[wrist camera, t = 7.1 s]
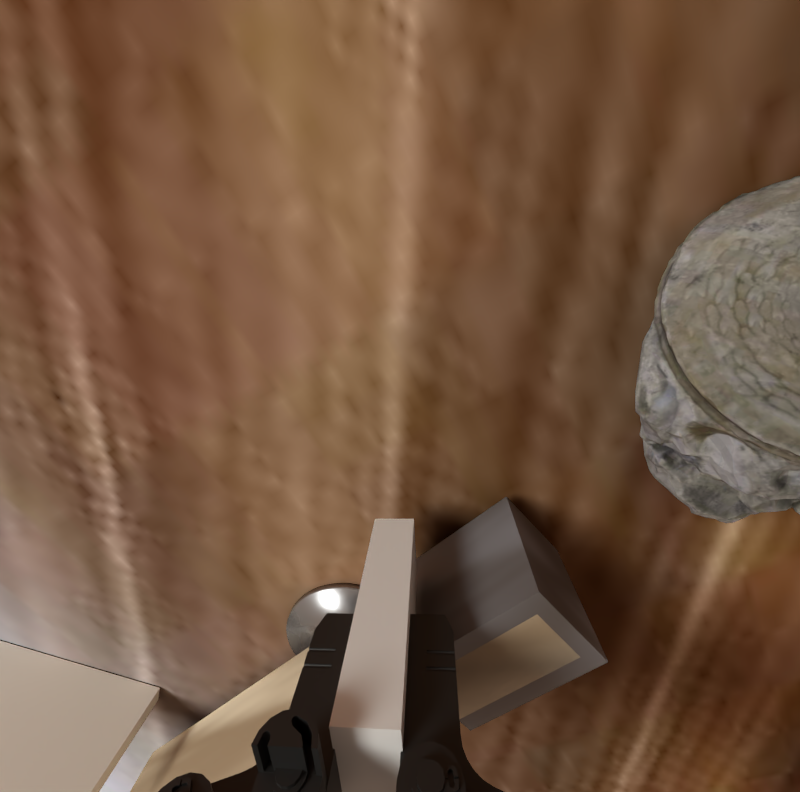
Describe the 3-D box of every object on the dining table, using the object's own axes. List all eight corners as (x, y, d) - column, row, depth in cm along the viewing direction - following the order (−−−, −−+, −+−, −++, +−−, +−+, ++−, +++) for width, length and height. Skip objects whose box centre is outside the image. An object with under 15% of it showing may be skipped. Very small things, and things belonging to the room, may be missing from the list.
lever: (556, 549, 15) (620, 688, 10) (188, 776, 21) (116, 925, 17) (506, 496, 14) (546, 614, 9) (144, 746, 21) (56, 891, 16)
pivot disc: (395, 575, 16) (394, 581, 16) (423, 672, 18) (423, 678, 18) (271, 591, 17) (269, 596, 17) (310, 682, 19) (308, 688, 19)
